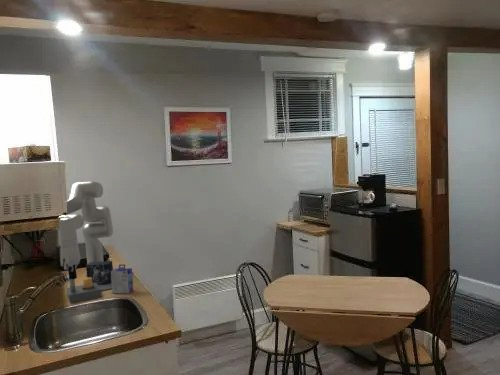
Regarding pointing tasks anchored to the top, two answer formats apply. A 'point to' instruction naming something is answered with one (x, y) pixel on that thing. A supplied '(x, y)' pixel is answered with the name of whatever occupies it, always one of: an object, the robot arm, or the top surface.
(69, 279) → the clip
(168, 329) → the top surface
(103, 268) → the small box
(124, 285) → the ink cartridge box
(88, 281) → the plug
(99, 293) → the socket block
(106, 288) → the pad
